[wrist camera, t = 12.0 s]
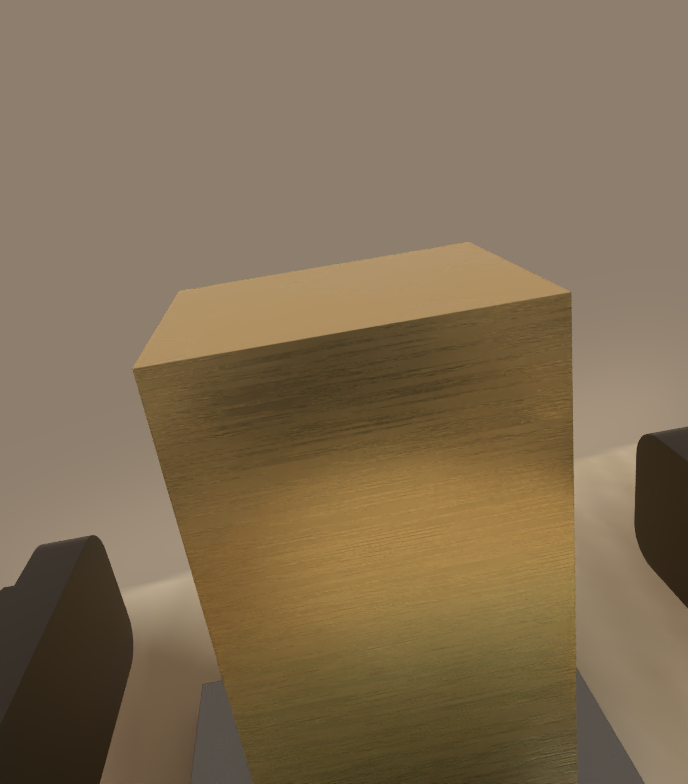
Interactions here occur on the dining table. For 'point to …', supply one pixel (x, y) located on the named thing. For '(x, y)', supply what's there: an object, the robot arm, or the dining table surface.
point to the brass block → (380, 514)
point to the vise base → (233, 780)
